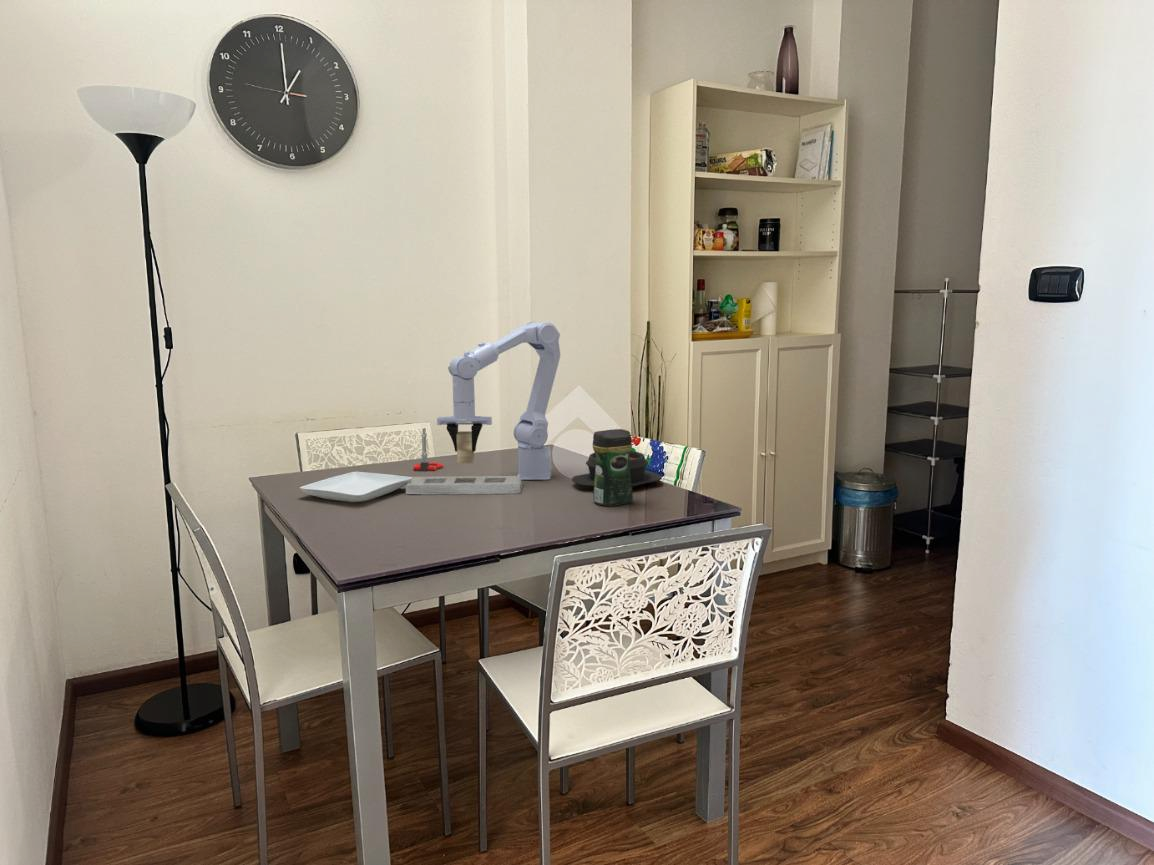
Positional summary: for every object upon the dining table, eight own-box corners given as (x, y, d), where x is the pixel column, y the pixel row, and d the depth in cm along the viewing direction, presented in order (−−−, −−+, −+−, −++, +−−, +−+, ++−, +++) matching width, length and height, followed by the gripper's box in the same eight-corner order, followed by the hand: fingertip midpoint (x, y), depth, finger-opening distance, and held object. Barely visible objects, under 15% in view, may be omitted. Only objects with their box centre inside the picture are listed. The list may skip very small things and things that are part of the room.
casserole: (582, 496, 213) (581, 464, 212) (564, 480, 231) (564, 451, 229) (672, 489, 219) (672, 458, 218) (648, 474, 237) (648, 446, 236)
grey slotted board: (522, 484, 226) (522, 475, 226) (519, 493, 216) (519, 484, 216) (413, 485, 226) (413, 476, 226) (406, 494, 216) (405, 485, 216)
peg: (474, 460, 225) (473, 431, 224) (472, 463, 221) (471, 433, 220) (459, 460, 225) (458, 431, 224) (457, 463, 221) (456, 433, 220)
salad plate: (297, 498, 213) (297, 486, 212) (355, 481, 231) (354, 469, 231) (360, 507, 203) (359, 494, 203) (414, 489, 222) (414, 476, 221)
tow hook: (419, 466, 254) (410, 471, 245) (418, 424, 252) (409, 428, 243) (446, 466, 253) (437, 471, 244) (445, 424, 251) (436, 428, 242)
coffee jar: (622, 496, 212) (622, 425, 209) (637, 503, 205) (637, 430, 202) (588, 501, 208) (587, 428, 205) (602, 508, 201) (602, 433, 198)
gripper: (434, 403, 216) (436, 453, 219) (489, 403, 216) (490, 453, 218) (439, 399, 223) (440, 448, 226) (492, 399, 223) (493, 448, 225)
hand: (465, 451), depth 223 cm, fingers closed on peg, 4 cm apart
